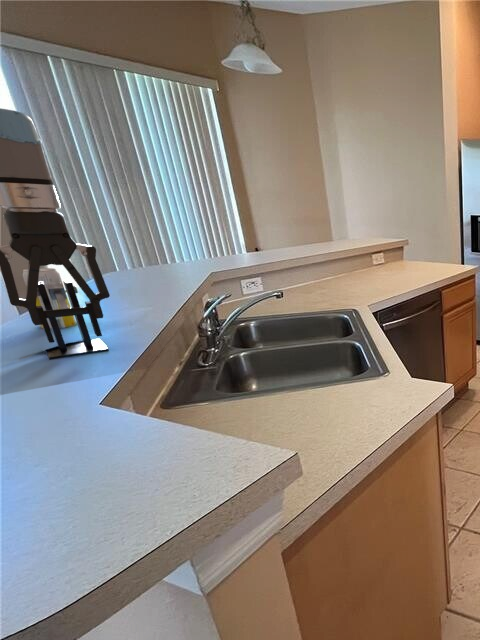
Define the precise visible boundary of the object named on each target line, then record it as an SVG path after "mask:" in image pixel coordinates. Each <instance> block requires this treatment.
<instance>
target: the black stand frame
mask: <svg viewBox="0 0 480 640" xmlns="http://www.w3.org/2000/svg"><path fill="white" fill-rule="evenodd" d="M62 283H63V286H64V289H65V292H66V295H67V298H68V301H69V304H70V307H71V308H77V307H81V305H80V302H79V299H78V296H77V294H78V293H79V291H78V288H77V286H76V285H74V283H73V282H72V281H71V280H70V279H63V280H62ZM37 296H40V297H41V300H42V303H43V306H44V308H45V310H53V308H52V305H51V303H50V300H49V297H48V294H47V291H46V288H45V286H44V284H43V282H38V289H37ZM74 319H75V322H76V325H77V327H78V330H79V333H80V336H81V339H82V340H79V341H72V342H71V341H70V342H67V343H65V340H64V337H63V333H62V331H61V328H59V325H58V323H57V320H56V317H55V318H48V320H49V322H50V325H51V328H52V329H51V332H52V335H53V337H54V340H55V342H56V346H53V347H50V348H47V349H45V353H46V355H47V358H48V360H49V361H51V360H57V359H65V358H71V357H77V356H78V357H79V356H83V355H90V354H97V353H103V352H109V351H110V350H109V348H108V347H107V345H106V344H105V343H104V341H103V340H101V338H94V339H91V336H90V332H89V330H88V326H87V322H86V320H85V318H84V315H74Z"/></svg>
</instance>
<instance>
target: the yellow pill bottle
mask: <svg viewBox="0 0 480 640" xmlns="http://www.w3.org/2000/svg"><path fill="white" fill-rule="evenodd" d="M22 271H23V273H22V278H23V281H24V284H25V287H27V278H28V268H27V269H23V270H22ZM38 282H43V284H44V286H45V288H46V291H47V294H48V297H49V300H50V303H51V305H52V308H53V310H56V309H61V308H60V306H59V304H58V302H57V300H52V298H51V296H50V294H49V291H48V288H47V285H46V283H62V285H63V287H64V290H65V293H66V296H67V299H65V300H66V302H67V304H68V306H69V308H72V306H71V303H70V300H69V297H68V294H67V291H66V289H65V286H64V283H63V280H62V278H61V275H60V273H59V272H58V271H57V270H56V268H53V267H51V268H50V267H48V268H47V267H44V268H43V267H40V269H39V278H38ZM36 306H42V307H43V310H44V311H45V308H44V306H43V303H42V300H41V297H40V296H37V300H36ZM56 320H57V323H58V325H59V328H60V329H65V328H69V327H75V326H76V325H77V321H76V318H75V315H74V316H65V317H56ZM47 321H48V324H49V327H50V330H52V328H51V325H50V322H49V320H48V318H47ZM40 328H41V329H43V330H44V328H43V325H40Z"/></svg>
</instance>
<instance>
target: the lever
mask: <svg viewBox="0 0 480 640" xmlns="http://www.w3.org/2000/svg"><path fill="white" fill-rule="evenodd" d="M62 283H63V282H62ZM62 283H46V285H47V288H48V291H49V294H50V296H51V298H52V300H57V302H58V304H59V306H60V308H61V309H56V310H45V311H44V313H45V316H46V318H55V317H65V316H74V317H75V315H83V316H85V315H89V310H88V308H87V307H86V306H80V307H77V308H72V307H71V308H69V306H68V304H67V302H66V300H65V299H67V298H68V295H67V292H66V289H65V286H64V284H63V285H62ZM63 286H64V287H63ZM64 289H65V290H64ZM65 292H66V293H65ZM66 295H67V296H66Z"/></svg>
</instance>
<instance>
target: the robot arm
mask: <svg viewBox="0 0 480 640" xmlns="http://www.w3.org/2000/svg"><path fill="white" fill-rule="evenodd" d="M42 144H43V141H42V140H41V138H40V137H39V134H38V131H37V129H36V126H35V124H34V121H33V119H32V118H31V117H30V116H29V115H27V114H25V113H24V112H21V111H18V110H12V109H6V108H0V208H3V209H5V211H3V213H2V216H3V219H4V222H5V225H6V227H7V230H8V233H9V236H10V241H9V244H6V245H2V246H0V271H1V273H2V278H3V283H4V286H5V290H6V292H7V296H8V300H9V303H10V304H11V305H12V306H14V307H23V308H25V309H27V311H28V314H29V317H30V319H31V322H32V324H33V325H34V326H41V325H43V328H44V329H43V328H42V329H43V330H44V333H45V336H46V338H47V341H48V343H49V344H53V343H55V342H56V340H55V337H54V334H53V331H52V329H50V327H49V324H48V321H47V318H46V316H45V313H44V310H43V307H42V306H36V300H37V289H38V278H39V269H40V268H41V267H44V266H49V265H53V266H63V267H64V269H65V270H66V271H67V273H68V274H69V275H70V277H72V279H73V280H74V281H75V283H76V284H77V286H78V287H79V288H80V289H81V290H82V292H83V293H84V294H85V296H86V297H87V298H88V300H89V301H84V305H85V307H87V308H88V310H89V314H88V316H89V320H90V323H91V326H92V330H93V332H94V335H95V336H96V337H98V338H99V337H103V334H102V330H101V327H100V324H99V321H98V320H99V319H103V318H104V313H103V309H102V307H101V306H102V305H101V301H102V300H105V299H108V298H110V297H111V296H110V295H111V294H110V293H109V290H108V286H107V284H106V282H105V279H104V277H103V274H102V271H101V268H100V267H99V264H98V261H97V259H96V258H97V248H96V247H95V246H93V245H91V244H88V245H87V244H81V243H76V241H75V240H74V239H73V238H72V236H71V235H70V231H69V229H68V225H67V222H66V219H65V216H64V214H63V213H62V212H58V210H60V209H61V208H62V206H61V203H60V200H59V196H58V194H57V191H56V188H55V185H54V182H53V178H52V175H51V171H50V168H49V164H48V161H47V158H46V155H45V151H44V149H43V146H42ZM76 250H77V251H79V254H80V255H81V256H83V257H85V260H86V263H87V266H88V268H89V271H90V274H91V276H92V278H93V281H94V283H95V285H96V288H97V291H98V292H96V293H95V292H94V290H93V289H92V288H91V286H90V285H89V284H88V283H87V281H86V280H85V278H84V277H83V276H82V275H81V273H80V272H79V271H78V270H77V268H76V267H75V265H74V264H73V262H72V261H71V258H72V256H73V255H74V253H75V251H76ZM13 252H15V253H17V254H18V255H19V256H21V257H22V258H24V259H25V260H27V261H28V263H27V264H28V266H27V269H28V278H27V286H26V292H25V298H20V296H19V293H18V288H17V285H16V282H15V278H14V274H13V270H12V267H11V264H10V263H11V262H10V261H9V260H10V259H12V257H13V255H12V253H13Z"/></svg>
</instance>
